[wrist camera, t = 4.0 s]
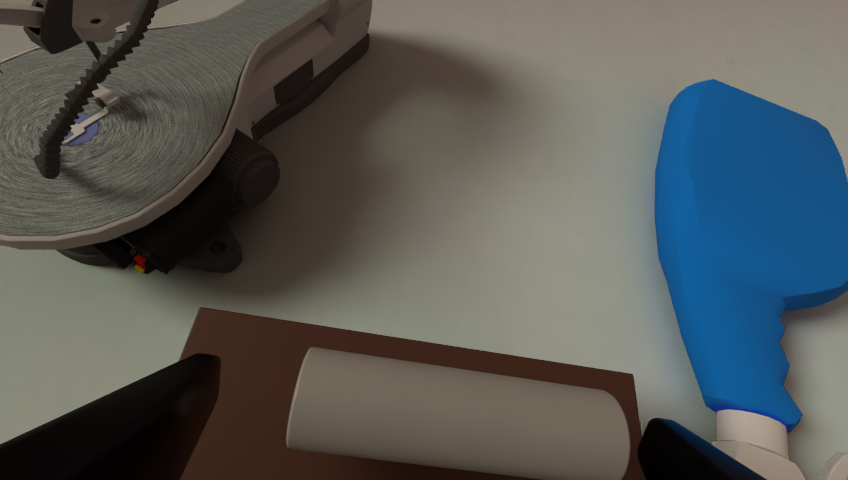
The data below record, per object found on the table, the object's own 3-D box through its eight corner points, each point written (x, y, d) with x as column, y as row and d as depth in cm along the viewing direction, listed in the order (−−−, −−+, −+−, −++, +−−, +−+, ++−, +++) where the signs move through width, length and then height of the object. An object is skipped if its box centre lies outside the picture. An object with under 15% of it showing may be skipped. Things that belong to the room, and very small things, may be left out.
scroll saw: (245, -271, 16) (482, -148, 15) (279, -12, 26) (428, 79, 24) (-627, -157, 7) (-186, 205, 6) (-71, 191, 16) (144, 357, 15)
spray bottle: (685, 63, 25) (663, 519, 13) (851, 130, 25) (978, 650, 13) (652, 99, 27) (610, 506, 16) (802, 160, 27) (872, 615, 15)
